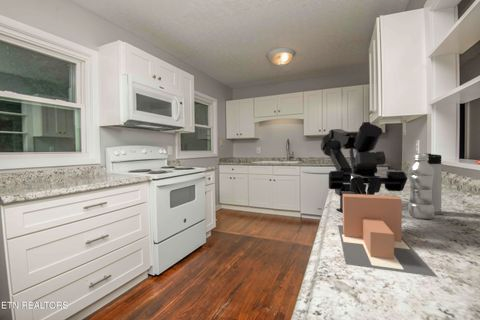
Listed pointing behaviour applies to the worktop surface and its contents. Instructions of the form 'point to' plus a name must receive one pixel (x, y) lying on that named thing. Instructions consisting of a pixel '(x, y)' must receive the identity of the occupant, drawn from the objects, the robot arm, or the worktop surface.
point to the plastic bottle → (421, 188)
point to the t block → (374, 222)
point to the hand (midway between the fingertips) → (368, 206)
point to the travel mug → (436, 181)
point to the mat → (402, 260)
